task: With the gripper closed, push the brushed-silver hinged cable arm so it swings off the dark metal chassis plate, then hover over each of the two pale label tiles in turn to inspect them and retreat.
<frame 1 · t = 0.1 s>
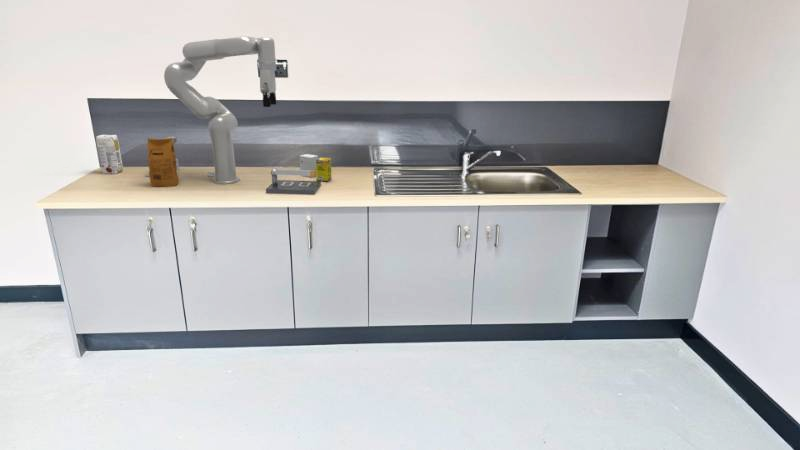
hand: (270, 105, 231), 37 cm above the worktop, tool pointing down, fingers open, 9 cm apart
chassis: (294, 189, 233), on the worktop
phone holder: (163, 173, 256), on the worktop
cable arm: (293, 172, 230), point 8 cm above the worktop, hinge at 0.0°
coffee package: (165, 184, 236), on the worktop
small box: (309, 176, 257), on the worktop
supplement box: (324, 181, 249), on the worktop
white flour bag: (113, 173, 255), on the worktop
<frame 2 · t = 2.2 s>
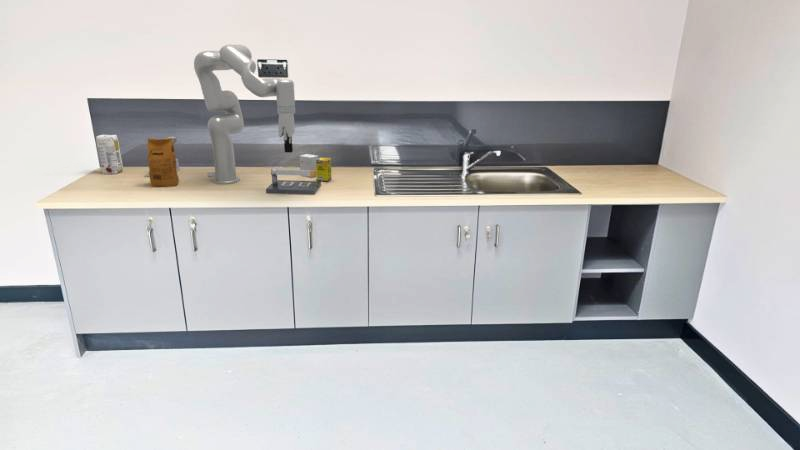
hand: (288, 152, 220), 19 cm above the worktop, tool pointing down, fingers closed
nothing on the worktop moved.
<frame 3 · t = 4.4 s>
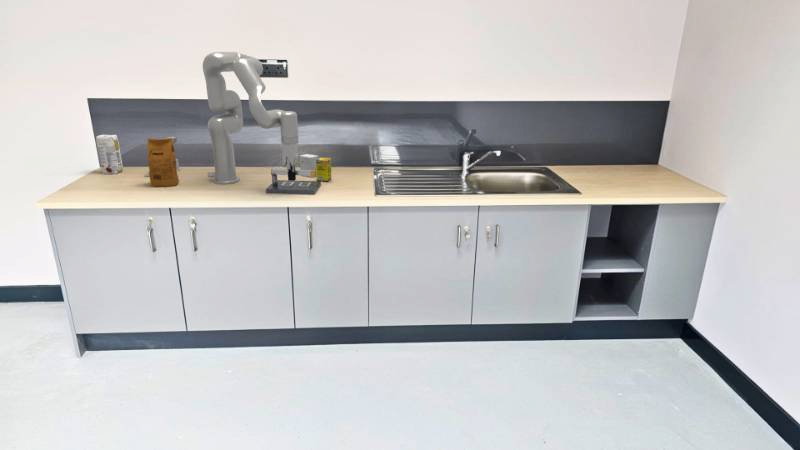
hand: (292, 179, 228), 5 cm above the worktop, tool pointing down, fingers closed
cable arm: (293, 172, 230), point 8 cm above the worktop, hinge at 1.2°, touching gripper
everything else where it was.
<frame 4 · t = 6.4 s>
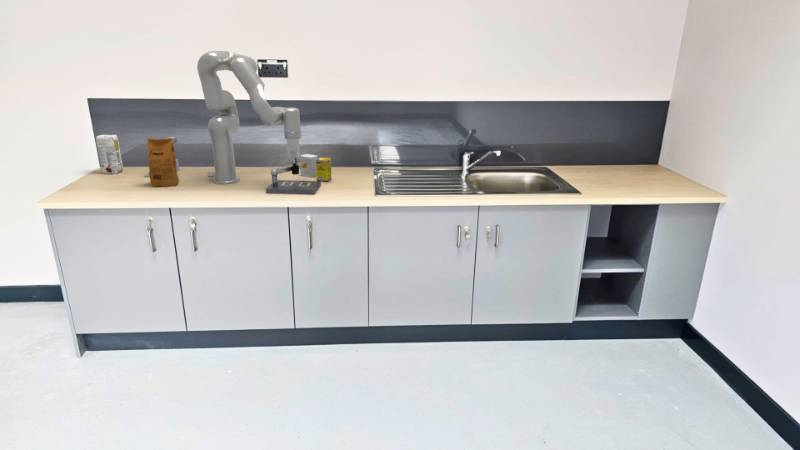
hand: (295, 173, 237), 6 cm above the worktop, tool pointing down, fingers closed
cable arm: (288, 168, 237), point 8 cm above the worktop, hinge at 55.6°, touching gripper
everything else where it was.
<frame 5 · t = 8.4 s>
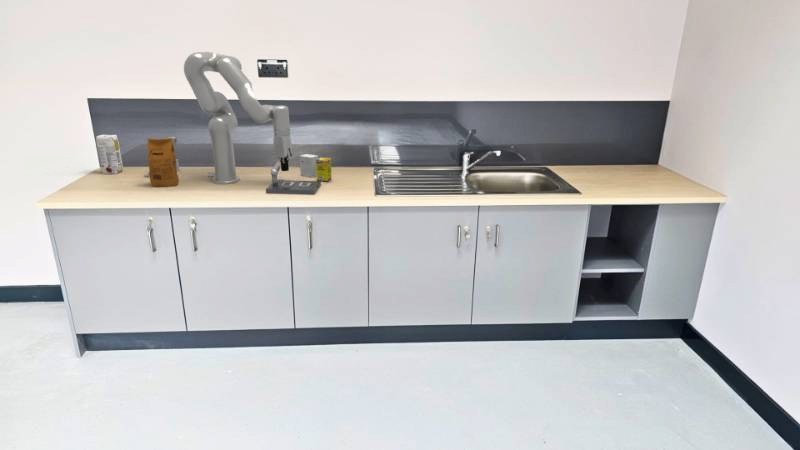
hand: (285, 170, 241), 6 cm above the worktop, tool pointing down, fingers closed
cable arm: (277, 167, 238), point 8 cm above the worktop, hinge at 96.0°, touching gripper
everything else where it was.
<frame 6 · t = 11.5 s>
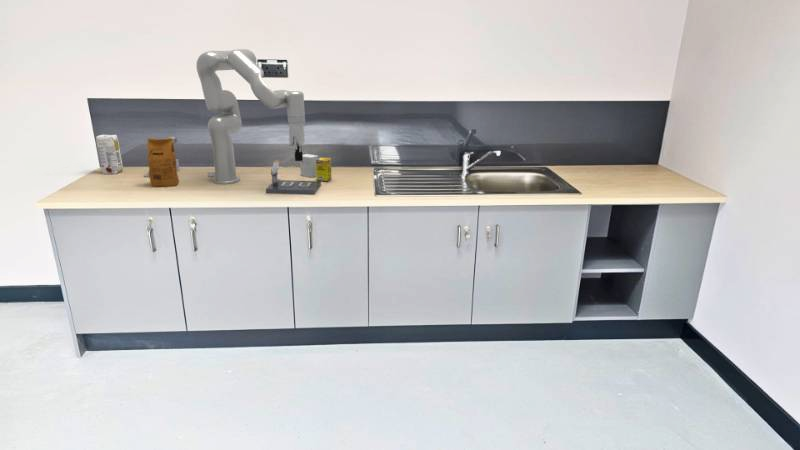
hand: (299, 160, 228), 14 cm above the worktop, tool pointing down, fingers closed
cable arm: (275, 167, 238), point 8 cm above the worktop, hinge at 101.2°
everything else where it was.
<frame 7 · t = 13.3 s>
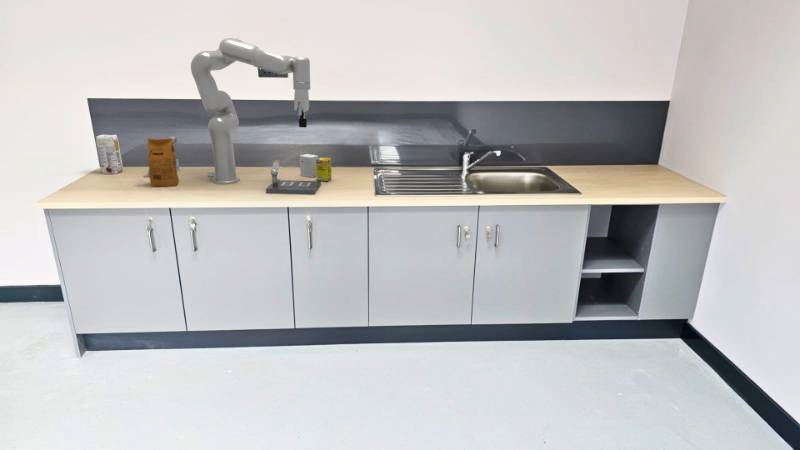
hand: (302, 127, 230), 28 cm above the worktop, tool pointing down, fingers closed
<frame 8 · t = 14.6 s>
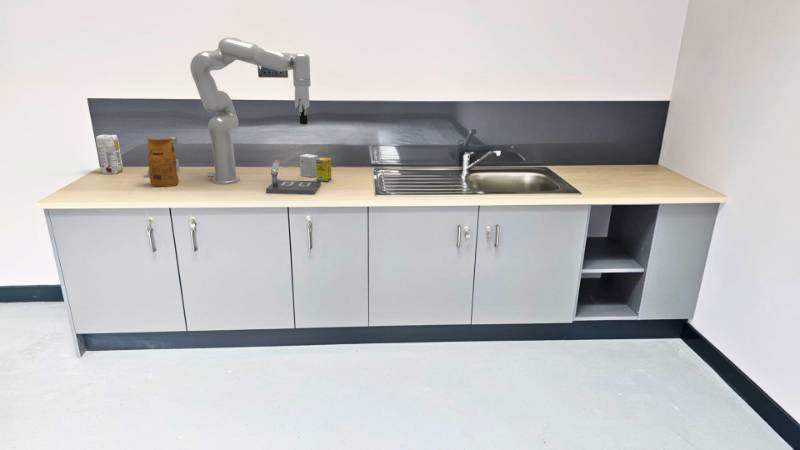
hand: (303, 123, 230), 29 cm above the worktop, tool pointing down, fingers closed
at the end: cable arm at +101° (first picture: +0°) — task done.
